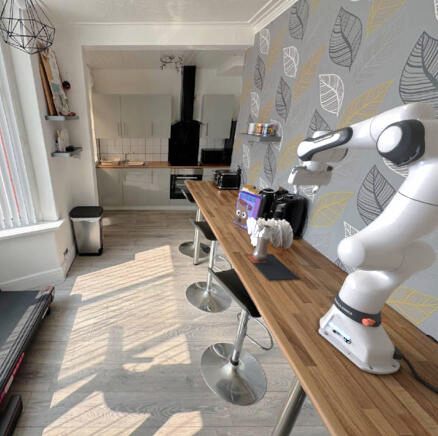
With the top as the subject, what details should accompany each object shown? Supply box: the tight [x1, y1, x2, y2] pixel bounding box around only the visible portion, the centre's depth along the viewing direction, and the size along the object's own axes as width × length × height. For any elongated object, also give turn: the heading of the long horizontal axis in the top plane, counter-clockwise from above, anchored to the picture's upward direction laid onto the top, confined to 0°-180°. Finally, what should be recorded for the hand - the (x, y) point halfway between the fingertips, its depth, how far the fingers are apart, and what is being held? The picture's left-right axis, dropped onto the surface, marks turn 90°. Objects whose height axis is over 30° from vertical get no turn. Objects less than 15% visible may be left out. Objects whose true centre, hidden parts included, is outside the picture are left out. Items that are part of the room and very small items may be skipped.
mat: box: [245, 253, 300, 281], centre depth 123 cm, size 22×16×1 cm
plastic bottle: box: [252, 225, 272, 262], centre depth 123 cm, size 6×7×20 cm
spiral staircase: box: [246, 217, 294, 250], centre depth 140 cm, size 18×18×25 cm
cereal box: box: [232, 190, 266, 231], centre depth 163 cm, size 17×5×24 cm, turn 27°
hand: (304, 193), depth 118 cm, fingers open, 8 cm apart
